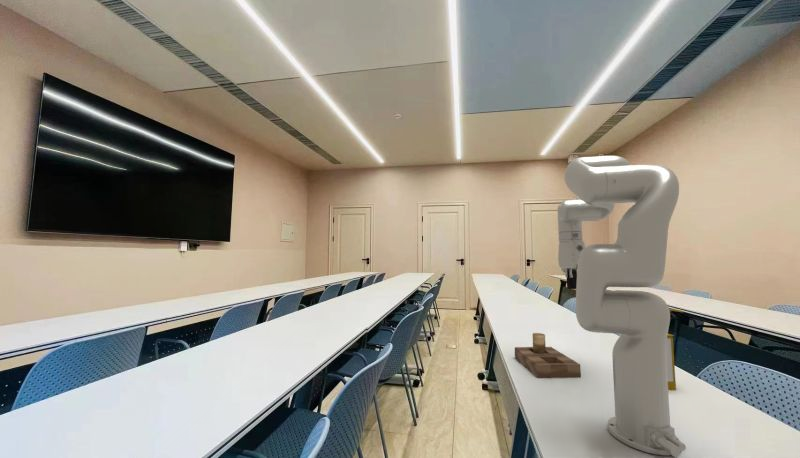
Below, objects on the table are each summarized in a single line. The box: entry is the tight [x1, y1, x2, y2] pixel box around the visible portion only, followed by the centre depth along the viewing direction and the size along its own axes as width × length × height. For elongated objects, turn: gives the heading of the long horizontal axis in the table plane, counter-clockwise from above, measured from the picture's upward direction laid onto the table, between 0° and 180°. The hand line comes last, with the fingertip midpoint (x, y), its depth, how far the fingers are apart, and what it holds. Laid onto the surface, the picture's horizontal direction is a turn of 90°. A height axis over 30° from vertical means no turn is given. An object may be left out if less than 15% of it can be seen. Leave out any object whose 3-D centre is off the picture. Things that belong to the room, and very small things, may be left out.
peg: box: [532, 332, 547, 354], centre depth 111 cm, size 4×4×10 cm
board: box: [514, 346, 582, 379], centre depth 107 cm, size 18×14×4 cm
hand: (572, 288), depth 108 cm, fingers closed
